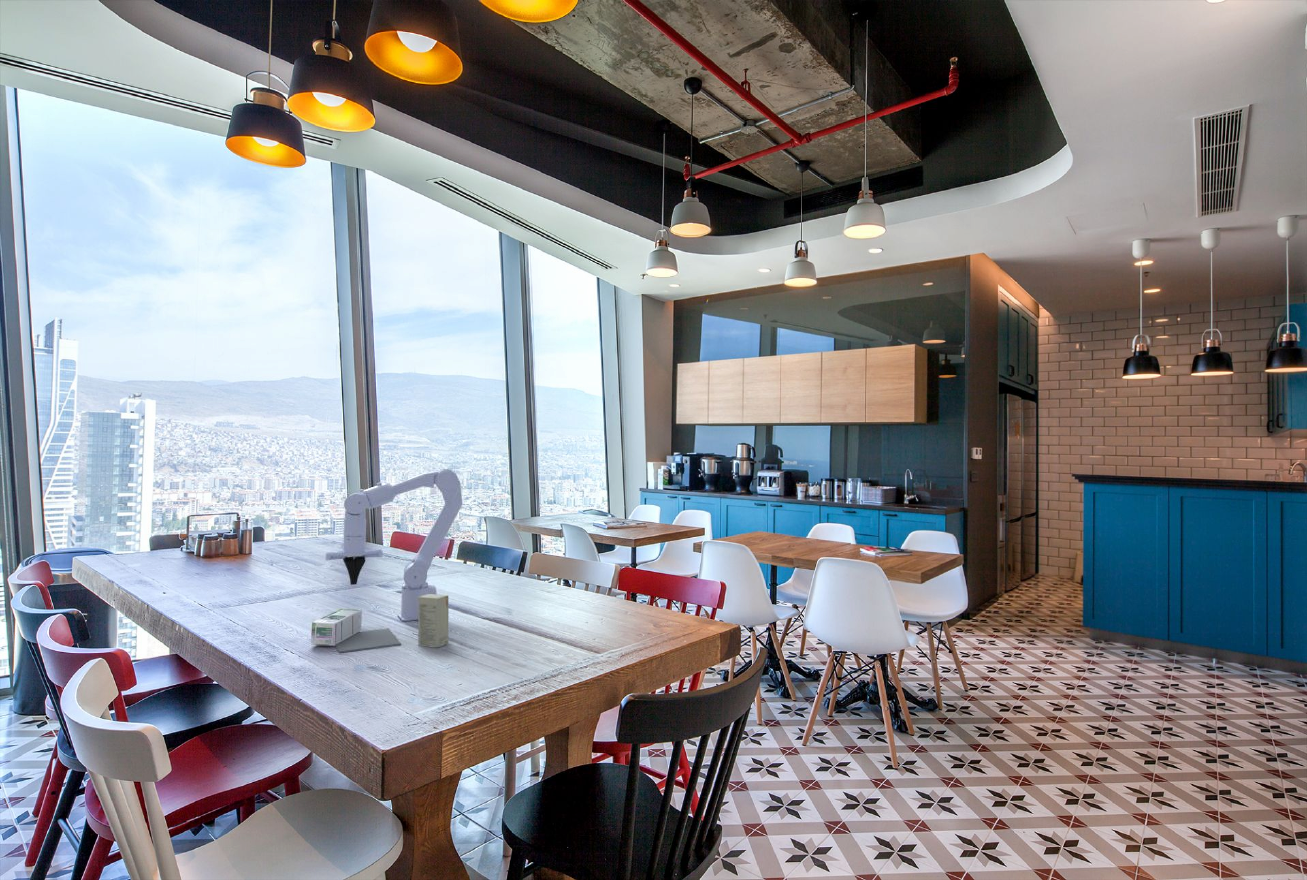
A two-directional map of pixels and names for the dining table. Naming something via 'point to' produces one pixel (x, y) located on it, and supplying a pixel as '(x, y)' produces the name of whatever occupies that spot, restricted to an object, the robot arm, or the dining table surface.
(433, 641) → the skincare box
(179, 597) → the dining table surface
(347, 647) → the grey mat
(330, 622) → the syrup box
